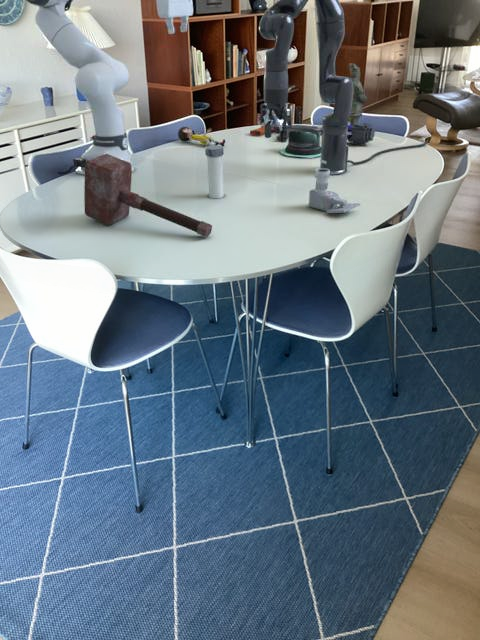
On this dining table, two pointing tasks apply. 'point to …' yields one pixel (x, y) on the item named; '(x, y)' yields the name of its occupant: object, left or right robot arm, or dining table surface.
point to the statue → (356, 95)
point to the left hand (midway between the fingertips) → (177, 32)
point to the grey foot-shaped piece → (327, 195)
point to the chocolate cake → (303, 143)
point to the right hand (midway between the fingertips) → (275, 139)
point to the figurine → (197, 137)
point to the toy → (360, 133)
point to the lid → (214, 151)
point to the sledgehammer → (124, 196)
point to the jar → (215, 177)
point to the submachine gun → (276, 129)
